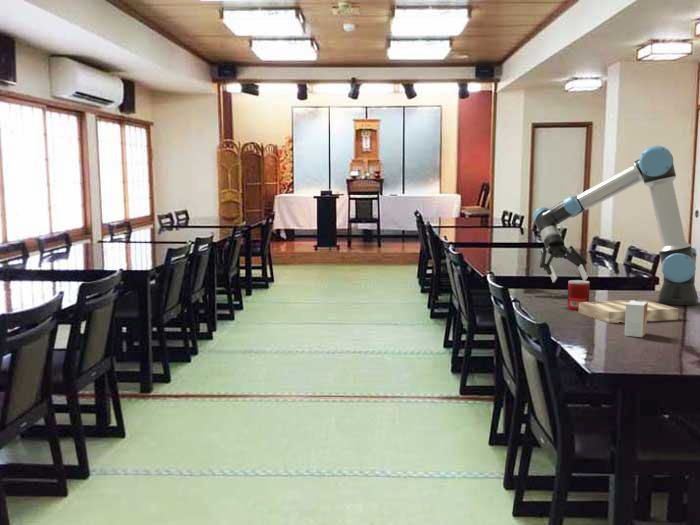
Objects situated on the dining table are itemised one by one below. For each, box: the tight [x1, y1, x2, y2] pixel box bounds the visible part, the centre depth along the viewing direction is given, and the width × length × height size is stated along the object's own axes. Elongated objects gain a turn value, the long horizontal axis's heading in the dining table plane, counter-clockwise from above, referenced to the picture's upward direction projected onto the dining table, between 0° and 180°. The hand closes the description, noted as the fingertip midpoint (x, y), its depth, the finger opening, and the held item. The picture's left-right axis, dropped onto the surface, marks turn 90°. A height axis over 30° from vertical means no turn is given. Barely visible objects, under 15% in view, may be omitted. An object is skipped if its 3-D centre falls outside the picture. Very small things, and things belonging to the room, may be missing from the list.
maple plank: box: [578, 299, 680, 324], centre depth 253 cm, size 28×20×4 cm
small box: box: [624, 301, 648, 338], centre depth 222 cm, size 8×6×10 cm
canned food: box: [567, 279, 591, 312], centre depth 267 cm, size 8×8×11 cm
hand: (570, 279), depth 271 cm, fingers open, 13 cm apart
